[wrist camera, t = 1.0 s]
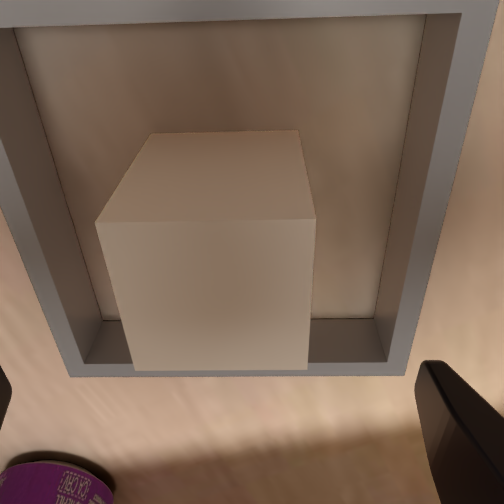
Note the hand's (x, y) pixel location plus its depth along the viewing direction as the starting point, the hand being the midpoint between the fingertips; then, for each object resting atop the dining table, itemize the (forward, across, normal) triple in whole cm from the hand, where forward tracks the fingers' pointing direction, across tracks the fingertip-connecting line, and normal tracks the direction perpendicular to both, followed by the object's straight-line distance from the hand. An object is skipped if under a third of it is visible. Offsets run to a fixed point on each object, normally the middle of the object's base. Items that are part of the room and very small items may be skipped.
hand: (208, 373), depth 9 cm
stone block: (+8, 0, 0) cm, 8 cm away
